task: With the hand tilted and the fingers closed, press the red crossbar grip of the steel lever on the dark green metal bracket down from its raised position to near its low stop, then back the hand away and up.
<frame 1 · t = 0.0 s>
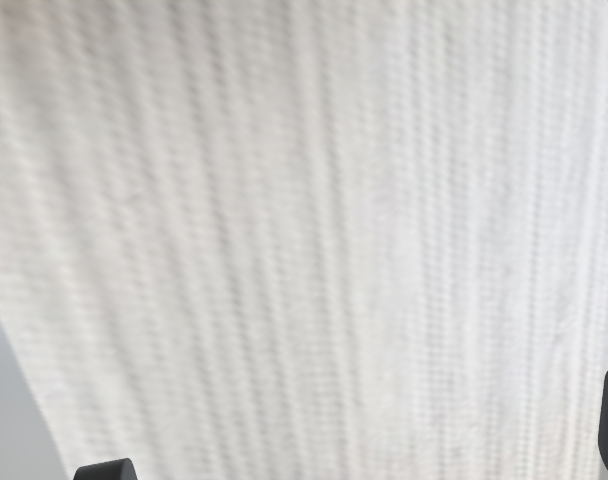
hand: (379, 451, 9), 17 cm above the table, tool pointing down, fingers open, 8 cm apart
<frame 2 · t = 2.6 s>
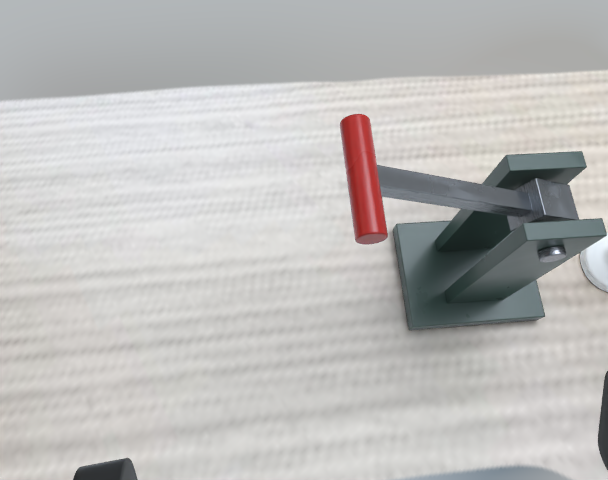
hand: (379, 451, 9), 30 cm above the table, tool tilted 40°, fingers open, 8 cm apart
bracket: (463, 273, 43), on the table
lever: (465, 195, 29), point 15 cm above the table, hinge at 24.0°
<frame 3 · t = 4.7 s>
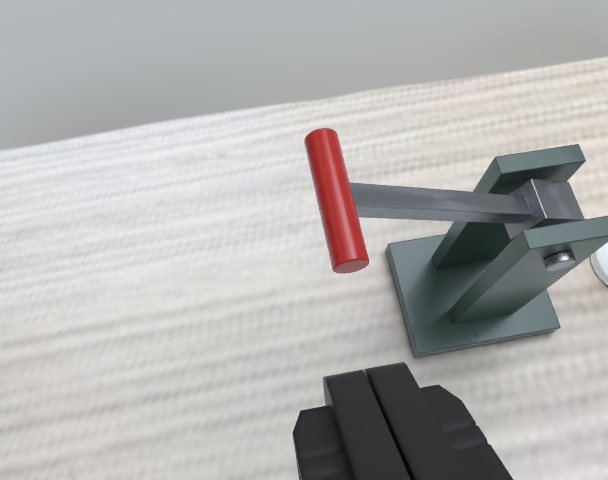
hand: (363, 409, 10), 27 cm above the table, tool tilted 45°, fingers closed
bracket: (467, 289, 40), on the table
lever: (454, 206, 26), point 15 cm above the table, hinge at 24.0°
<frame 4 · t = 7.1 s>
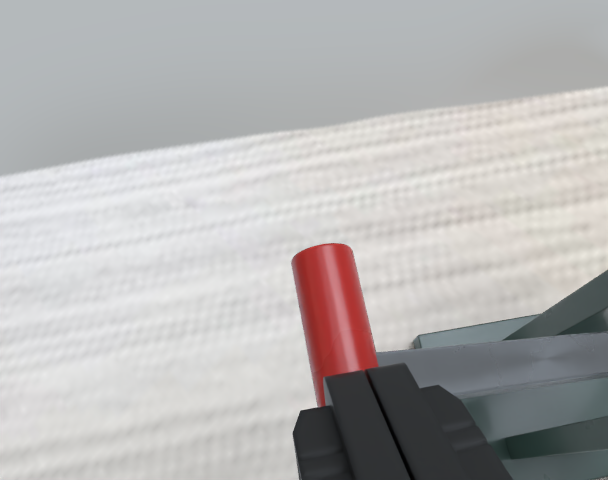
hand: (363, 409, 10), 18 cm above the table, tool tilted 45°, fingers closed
bracket: (527, 400, 28), on the table
lever: (560, 360, 15), point 15 cm above the table, hinge at 22.1°
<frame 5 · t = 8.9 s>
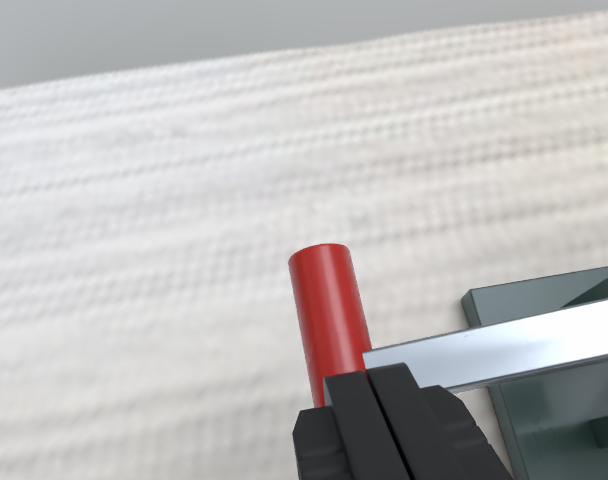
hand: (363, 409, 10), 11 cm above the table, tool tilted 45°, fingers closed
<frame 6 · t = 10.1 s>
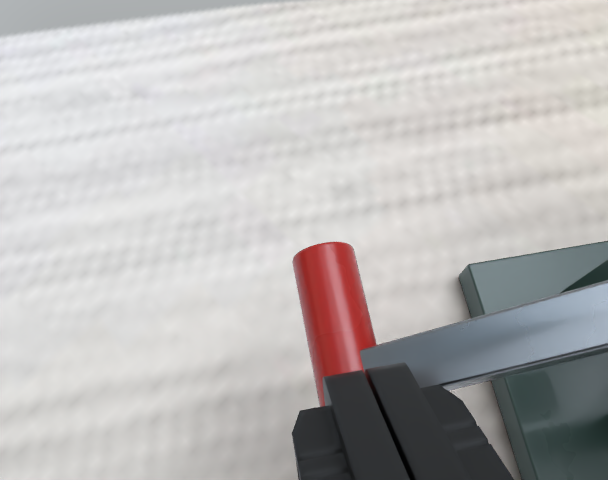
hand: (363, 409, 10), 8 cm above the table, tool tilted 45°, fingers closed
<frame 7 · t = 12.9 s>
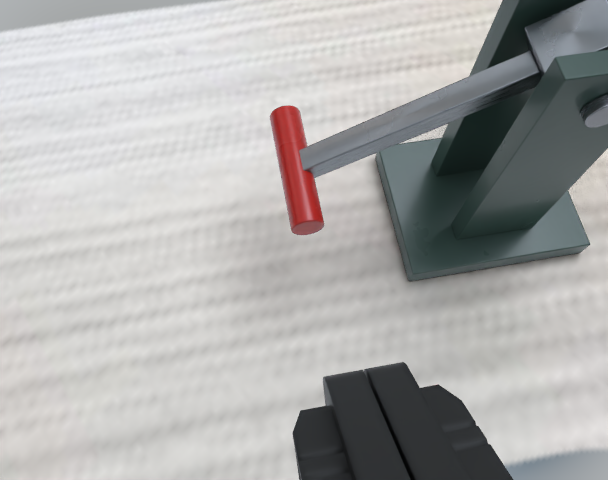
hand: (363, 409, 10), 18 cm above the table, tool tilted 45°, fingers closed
bracket: (474, 203, 33), on the table
lever: (430, 112, 23), point 10 cm above the table, hinge at -28.0°
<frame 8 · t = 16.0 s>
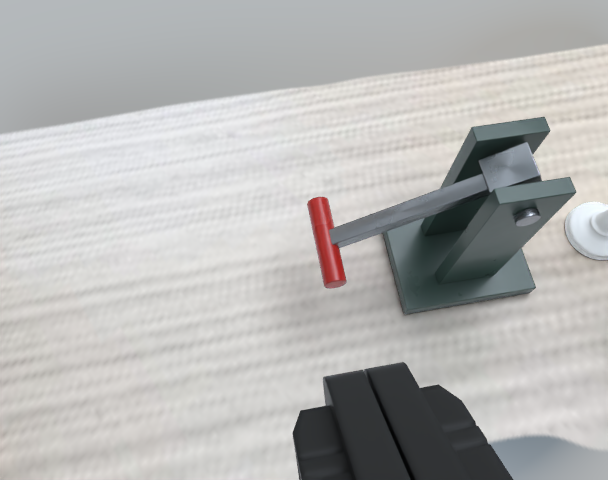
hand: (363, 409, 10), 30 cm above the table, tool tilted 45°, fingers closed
bracket: (452, 255, 44), on the table
chess piece: (594, 232, 45), on the table
lever: (418, 208, 35), point 10 cm above the table, hinge at -28.0°
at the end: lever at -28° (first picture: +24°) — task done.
